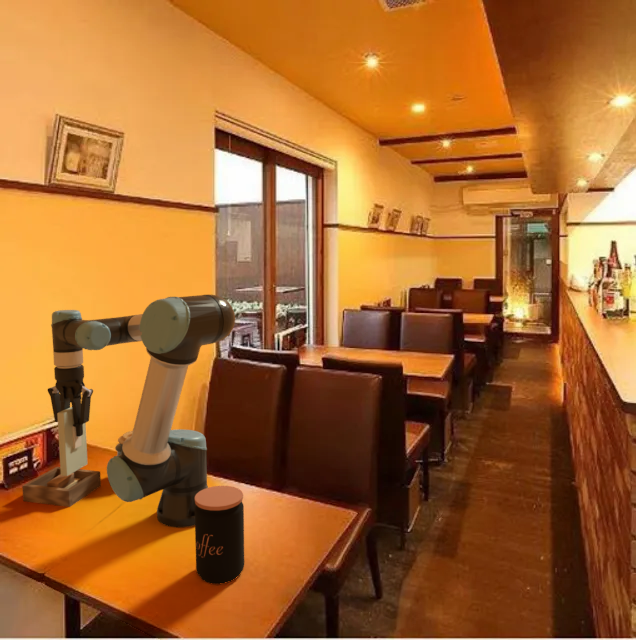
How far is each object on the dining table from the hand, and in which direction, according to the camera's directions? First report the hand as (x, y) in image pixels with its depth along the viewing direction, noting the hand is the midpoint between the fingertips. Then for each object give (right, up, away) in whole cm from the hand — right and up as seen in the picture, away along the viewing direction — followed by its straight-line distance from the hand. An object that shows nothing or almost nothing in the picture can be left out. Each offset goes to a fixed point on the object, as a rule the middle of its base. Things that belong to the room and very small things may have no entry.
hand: (73, 446), depth 157 cm
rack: (-4, -16, +3) cm, 16 cm away
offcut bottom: (-4, -14, +3) cm, 15 cm away
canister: (+14, -15, +14) cm, 25 cm away
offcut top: (-4, -12, +2) cm, 13 cm away
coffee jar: (+48, -21, -33) cm, 62 cm away
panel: (0, -7, +1) cm, 7 cm away
